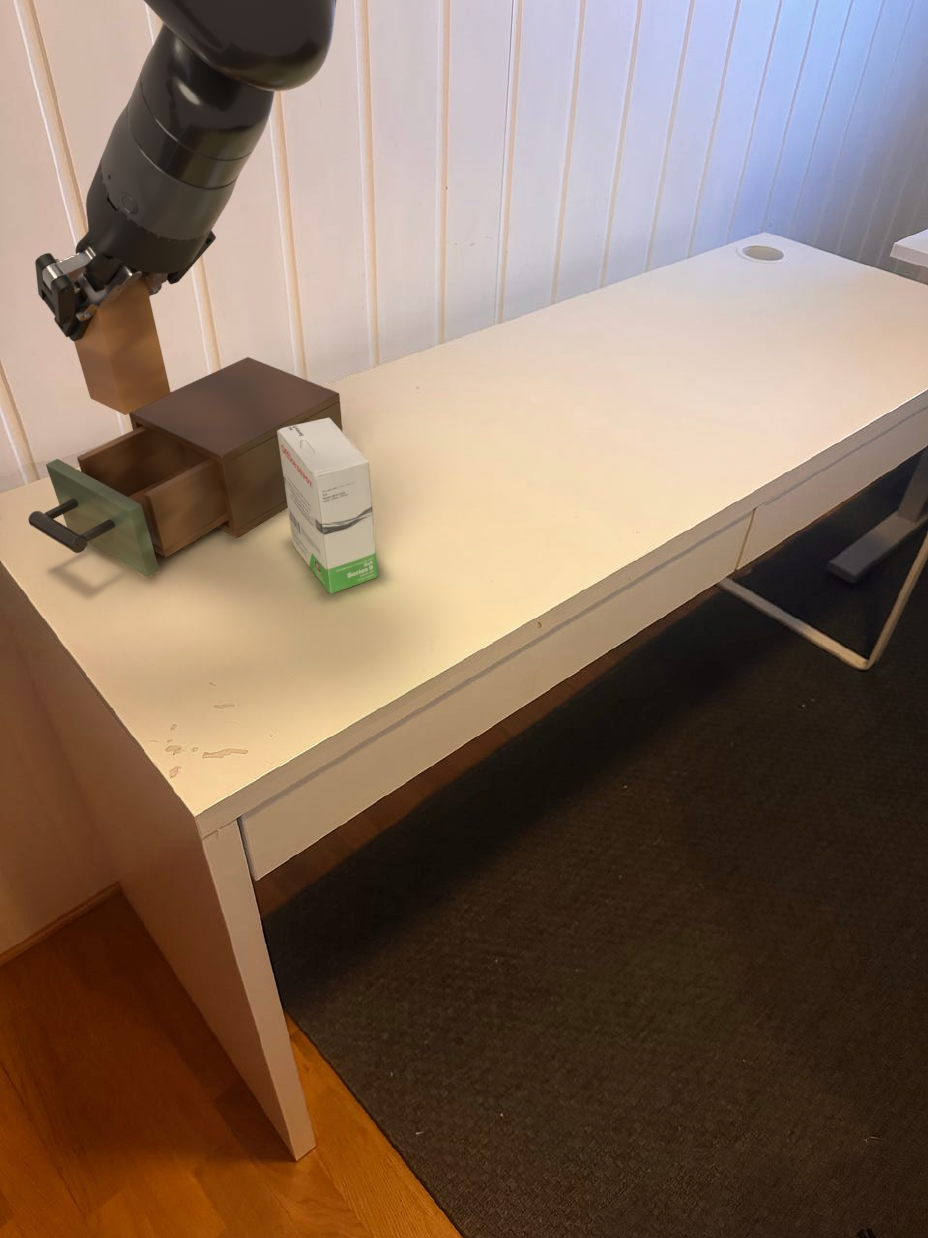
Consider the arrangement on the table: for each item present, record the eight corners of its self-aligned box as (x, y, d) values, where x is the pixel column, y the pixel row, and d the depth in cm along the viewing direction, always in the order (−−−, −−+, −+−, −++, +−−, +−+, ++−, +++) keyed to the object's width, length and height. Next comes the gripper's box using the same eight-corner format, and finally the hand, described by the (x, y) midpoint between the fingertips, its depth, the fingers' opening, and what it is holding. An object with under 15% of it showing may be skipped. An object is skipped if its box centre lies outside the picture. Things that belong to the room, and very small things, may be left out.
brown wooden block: (125, 415, 71) (92, 290, 64) (90, 398, 73) (54, 275, 67) (171, 394, 74) (144, 272, 67) (136, 378, 76) (106, 258, 69)
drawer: (106, 603, 73) (84, 535, 69) (25, 551, 78) (0, 485, 74) (265, 506, 84) (255, 443, 79) (185, 466, 89) (171, 404, 84)
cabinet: (237, 538, 81) (221, 456, 76) (148, 491, 87) (127, 411, 81) (346, 471, 90) (339, 392, 85) (259, 432, 96) (247, 356, 90)
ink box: (381, 578, 77) (373, 460, 70) (327, 596, 75) (313, 476, 68) (340, 527, 83) (329, 412, 75) (290, 543, 81) (273, 426, 73)
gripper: (215, 109, 61) (142, 252, 74) (26, 153, 52) (-18, 305, 65) (280, 207, 62) (196, 330, 75) (105, 266, 53) (46, 393, 67)
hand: (97, 318), depth 70 cm, fingers closed on brown wooden block, 4 cm apart
